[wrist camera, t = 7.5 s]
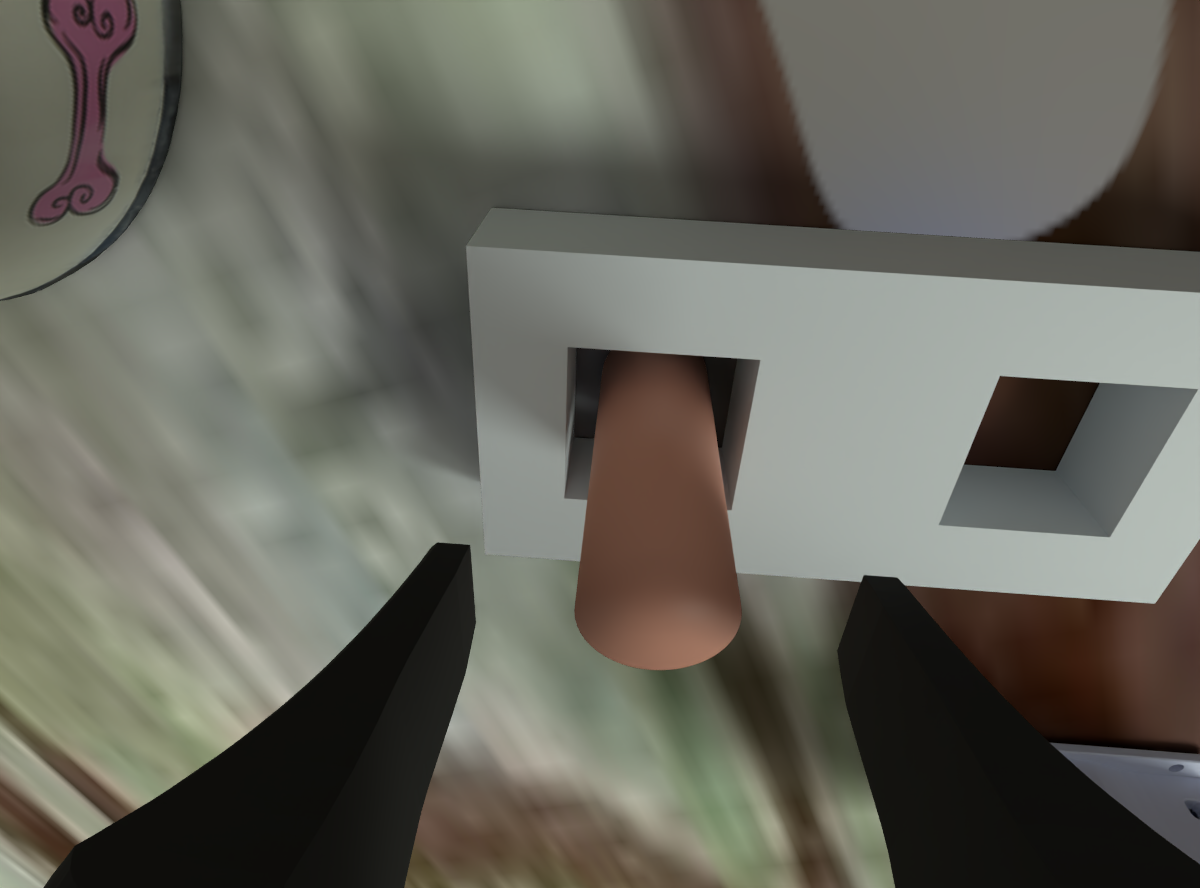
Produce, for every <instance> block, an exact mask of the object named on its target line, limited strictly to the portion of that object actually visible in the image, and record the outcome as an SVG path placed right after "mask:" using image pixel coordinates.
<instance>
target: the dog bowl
mask: <svg viewBox="0 0 1200 888" xmlns="http://www.w3.org/2000/svg"><path fill="white" fill-rule="evenodd" d="M181 76H182V19H181V5H180V0H0V301H1V300H8V299H13V298H17V297H21V296H24V295H28V294H32V293H35V292H37V291H40V290H42V289H44V288H46V287H48V286H50V285H52V284H54V283H56V282H58V281H60V280H61V279H63V278H65V277H67V276H69V275H71V274H73V273H75V272H76V271H78V270H79V269H81V268H82V267H84V266H85V265H87V264H88V263H90V262H91V261H93V260H94V259H95V258H97V257H98V256H99V255H100V254H101V253H102V252H103V251H104V250H106V249H107V248H108V247H109V246H110V245H111V244H113V243H114V242H115V241H116V240H117V239H118V237H119V236H120V235H121V234H122V233H123V232H124V231H125V230H126V229H127V228H128V226H129V225H130V223H131V222H132V220H133V219H134V218H135V217H136V216H137V214H138V212H139V211H140V209H141V208H142V207H143V205H144V204H145V202H146V200H147V199H148V197H149V195H150V193H151V191H152V189H153V187H154V185H155V183H156V181H157V179H158V176H159V174H160V171H161V169H162V167H163V164H164V161H165V158H166V156H167V153H168V149H169V146H170V142H171V138H172V133H173V129H174V124H175V120H176V116H177V109H178V102H179V96H180V88H181Z"/></svg>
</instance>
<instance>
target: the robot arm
mask: <svg viewBox="0 0 1200 888" xmlns="http://www.w3.org/2000/svg"><path fill="white" fill-rule="evenodd" d="M475 624H476V617H475V604H474V591H473V578H472V564H471V551H470V545H463V544H450V543H436V544H435V545H434V546H432V547H431V549H430V550H429V551H428V553H427V554H426V555H425V556H424V558H423V559H422V560H421V562H420V563H419V564H418V565H417V567H416V568H415V569H414V570H413V572H412V573H411V574H410V575H409V577H408V578H407V579H406V580H405V582H404V583H403V584H402V585H401V586H400V588H399V589H398V590H397V591H396V592H395V594H394V595H393V596H392V597H391V598H390V599H389V600H388V602H387V603H386V604H385V605H384V606H383V607H382V608H381V609H380V611H379V612H378V613H377V614H376V615H375V616H374V617H373V618H372V620H371V621H370V622H369V623H368V624H367V625H366V626H365V627H364V628H363V629H362V631H361V632H360V633H359V634H358V635H357V636H356V637H355V638H354V639H353V640H352V641H351V642H350V643H349V644H348V645H347V646H346V647H345V648H344V649H343V650H342V651H341V652H340V653H339V654H338V655H337V656H336V657H335V658H334V659H333V660H332V661H331V662H330V663H329V664H328V665H327V666H326V667H325V668H324V669H323V670H322V671H321V672H320V673H318V674H317V675H316V676H315V677H314V678H313V679H312V680H311V681H310V682H309V683H308V684H307V685H305V686H304V687H303V688H302V689H301V690H300V691H299V692H297V693H296V694H295V695H294V696H293V697H292V698H291V699H289V700H288V701H287V702H286V703H285V704H284V705H282V706H281V707H280V708H279V709H278V710H276V711H275V712H274V713H273V714H271V715H270V716H269V717H268V718H266V719H265V720H264V721H263V722H261V723H260V724H259V725H258V726H256V727H255V728H254V729H253V730H251V731H250V732H249V733H248V734H246V735H245V736H244V737H242V738H241V739H240V740H238V741H237V742H236V743H235V744H233V745H232V746H230V747H229V748H228V749H226V750H225V751H224V752H222V753H221V754H219V755H218V756H217V757H215V758H214V759H212V760H211V761H209V762H208V763H206V764H205V765H204V766H202V767H201V768H199V769H198V770H196V771H195V772H193V773H192V774H190V775H189V776H188V777H186V778H185V779H183V780H182V781H180V782H179V783H177V784H176V785H175V786H173V787H172V788H170V789H169V790H167V791H166V792H164V793H163V794H161V795H159V796H158V797H156V798H155V799H153V800H152V801H150V802H148V803H147V804H145V805H143V806H142V807H140V808H138V809H137V810H135V811H133V812H132V813H130V814H128V815H127V816H125V817H123V818H122V819H120V820H118V821H117V822H115V823H113V824H112V825H110V826H108V827H107V828H105V829H103V830H102V831H100V832H98V833H97V834H95V835H93V836H92V837H90V838H88V839H86V840H84V841H83V842H81V843H79V844H77V845H75V846H74V848H73V849H72V850H71V852H70V853H69V854H68V856H67V857H66V858H65V860H64V861H63V862H62V863H61V865H60V866H59V867H58V868H57V870H56V871H55V872H54V873H53V875H52V876H51V878H50V879H49V880H48V882H47V883H46V885H45V886H44V888H404V885H405V881H406V876H407V872H408V867H409V863H410V858H411V854H412V850H413V845H414V841H415V836H416V832H417V828H418V823H419V819H420V815H421V811H422V807H423V804H424V800H425V797H426V793H427V790H428V787H429V783H430V780H431V777H432V774H433V771H434V768H435V765H436V762H437V759H438V756H439V753H440V750H441V747H442V744H443V741H444V738H445V735H446V732H447V729H448V726H449V723H450V720H451V717H452V714H453V711H454V708H455V704H456V701H457V698H458V695H459V692H460V689H461V686H462V683H463V680H464V676H465V673H466V668H467V664H468V659H469V654H470V649H471V644H472V639H473V634H474V629H475ZM837 652H838V659H839V665H840V672H841V679H842V685H843V691H844V696H845V702H846V706H847V710H848V714H849V717H850V721H851V724H852V728H853V731H854V735H855V738H856V741H857V745H858V748H859V752H860V755H861V758H862V762H863V765H864V768H865V772H866V775H867V778H868V782H869V785H870V789H871V792H872V795H873V799H874V802H875V805H876V809H877V812H878V815H879V819H880V822H881V826H882V829H883V833H884V837H885V841H886V845H887V849H888V853H889V858H890V863H891V868H892V873H893V878H894V884H895V888H1200V754H1191V753H1178V752H1165V751H1153V750H1140V749H1127V748H1114V747H1101V746H1088V745H1076V744H1063V743H1050V742H1048V741H1047V740H1046V739H1045V738H1044V737H1043V736H1042V735H1041V734H1040V733H1039V732H1038V731H1037V730H1036V729H1035V728H1034V727H1033V726H1032V725H1031V724H1030V723H1029V722H1028V721H1027V720H1026V719H1025V718H1024V717H1023V716H1022V715H1021V714H1020V713H1019V712H1018V711H1017V710H1016V709H1015V708H1014V707H1013V706H1012V705H1011V704H1010V703H1009V702H1008V701H1007V700H1006V699H1005V698H1004V697H1003V696H1002V695H1001V694H1000V693H999V692H998V691H997V690H996V689H995V688H994V687H993V686H992V685H991V684H990V683H989V682H988V681H987V679H986V678H985V677H984V676H983V675H982V674H981V673H980V672H979V671H978V670H977V669H976V668H975V666H974V665H973V664H972V663H971V662H970V661H969V660H968V659H967V658H966V656H965V655H964V654H963V653H962V652H961V651H960V650H959V649H958V647H957V646H956V645H955V644H954V643H953V642H952V641H951V639H950V638H949V637H948V636H947V635H946V634H945V632H944V631H943V630H942V629H941V628H940V627H939V625H938V624H937V623H936V622H935V621H934V620H933V618H932V617H931V616H930V615H929V614H928V613H927V611H926V610H925V609H924V608H923V607H922V605H921V604H920V603H919V602H918V601H917V600H916V598H915V597H914V596H913V595H912V594H911V592H910V591H909V590H908V589H907V588H906V587H905V585H904V584H903V583H902V582H901V581H900V580H899V579H898V578H897V577H884V576H871V575H863V578H862V581H861V584H860V587H859V590H858V593H857V596H856V598H855V601H854V604H853V607H852V610H851V613H850V616H849V619H848V621H847V624H846V627H845V630H844V633H843V636H842V639H841V642H840V644H839V647H838V650H837Z"/></svg>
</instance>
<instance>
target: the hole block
mask: <svg viewBox="0 0 1200 888" xmlns="http://www.w3.org/2000/svg"><path fill="white" fill-rule="evenodd" d="M466 255H467V271H468V287H469V304H470V320H471V336H472V352H473V369H474V385H475V401H476V417H477V434H478V450H479V466H480V482H481V499H482V515H483V531H484V547H485V554H487V555H501V556H514V557H528V558H542V559H555V560H569V561H580V558H581V550H582V541H583V532H584V524H585V515H586V507H587V498H588V490H589V481H590V473H591V464H592V455H593V447H594V439H589V438H575V437H574V419H575V385H576V352H577V348H589V349H604V350H619V351H634V352H649V353H664V354H679V355H694V356H709V357H724V358H737V363H736V369H735V374H734V380H733V386H732V392H731V398H730V403H729V409H728V415H727V421H726V427H725V433H724V438H723V444H722V448H718V451H719V457H720V464H721V471H722V478H723V485H724V492H725V499H726V506H727V512H728V519H729V526H730V533H731V540H732V547H733V554H734V560H735V567H736V573H746V574H759V575H773V576H787V577H800V578H814V579H828V580H841V581H855V582H861V581H862V578H863V575H871V576H884V577H897V578H898V579H899V580H900V581H901V582H902V583H903V584H904V585H909V586H923V587H936V588H950V589H964V590H977V591H991V592H1005V593H1018V594H1032V595H1045V596H1059V597H1073V598H1086V599H1100V600H1114V601H1127V602H1141V603H1154V604H1155V603H1156V601H1157V600H1158V599H1159V597H1160V596H1161V594H1162V593H1163V591H1164V590H1165V588H1166V587H1167V586H1168V584H1169V583H1170V581H1171V580H1172V578H1173V577H1174V575H1175V574H1176V572H1177V571H1178V570H1179V568H1180V567H1181V565H1182V564H1183V562H1184V561H1185V559H1186V558H1187V557H1188V555H1189V554H1190V552H1191V551H1192V549H1193V548H1194V546H1195V545H1196V543H1197V542H1198V541H1199V539H1200V252H1193V251H1177V250H1161V249H1145V248H1129V247H1113V246H1097V245H1081V244H1065V243H1049V242H1033V241H1017V240H1001V239H985V238H984V239H983V238H969V237H953V236H935V235H921V234H920V235H919V234H904V233H889V232H872V231H857V230H841V229H825V228H809V227H793V226H777V225H761V224H745V223H729V222H713V221H697V220H681V219H665V218H649V217H633V216H617V215H601V214H585V213H569V212H553V211H537V210H521V209H505V208H491V209H490V211H489V212H488V214H487V215H486V217H485V218H484V220H483V221H482V223H481V224H480V226H479V227H478V229H477V230H476V232H475V233H474V235H473V236H472V238H471V239H470V241H469V242H468V244H467V245H466ZM1000 376H1009V377H1024V378H1039V379H1054V380H1069V381H1084V382H1099V383H1100V384H1099V386H1098V388H1097V390H1096V392H1095V394H1094V396H1093V398H1092V400H1091V402H1090V404H1089V406H1088V408H1087V410H1086V412H1085V413H1084V415H1083V417H1082V419H1081V421H1080V423H1079V425H1078V427H1077V429H1076V431H1075V433H1074V435H1073V437H1072V439H1071V441H1070V443H1069V445H1068V447H1067V449H1066V451H1065V453H1064V455H1063V457H1062V459H1061V461H1060V463H1059V465H1058V467H1057V469H1056V471H1049V470H1035V469H1020V468H1006V467H991V466H977V465H964V462H965V460H966V457H967V455H968V452H969V450H970V448H971V445H972V443H973V440H974V438H975V435H976V433H977V430H978V428H979V426H980V423H981V421H982V418H983V416H984V413H985V411H986V409H987V406H988V404H989V401H990V399H991V396H992V394H993V391H994V389H995V387H996V384H997V382H998V379H999V377H1000Z"/></svg>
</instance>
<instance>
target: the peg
mask: <svg viewBox="0 0 1200 888" xmlns="http://www.w3.org/2000/svg"><path fill="white" fill-rule="evenodd" d="M741 616H742V610H741V602H740V595H739V588H738V581H737V574H736V567H735V560H734V554H733V547H732V540H731V533H730V526H729V519H728V512H727V506H726V499H725V492H724V485H723V478H722V471H721V464H720V457H719V451H718V444H717V437H716V430H715V423H714V416H713V409H712V403H711V396H710V389H709V382H708V375H707V368H706V364H705V361H704V359H703V356H694V355H679V354H664V353H649V352H634V351H619V350H611V351H610V352H609V354H608V356H607V357H606V360H605V362H604V366H603V370H602V379H601V387H600V396H599V404H598V413H597V421H596V430H595V438H594V447H593V455H592V464H591V473H590V481H589V490H588V498H587V507H586V515H585V524H584V532H583V541H582V550H581V558H580V567H579V575H578V584H577V592H576V601H575V620H576V623H577V626H578V628H579V631H580V633H581V634H582V636H583V637H584V639H585V640H586V641H587V642H588V643H589V644H590V645H591V646H592V647H593V648H594V649H595V650H596V651H598V652H599V653H601V654H602V655H604V656H605V657H607V658H609V659H611V660H613V661H616V662H618V663H621V664H624V665H627V666H630V667H635V668H640V669H648V670H672V669H679V668H684V667H688V666H692V665H695V664H698V663H701V662H703V661H705V660H707V659H709V658H711V657H713V656H714V655H716V654H718V653H719V652H720V651H722V650H723V649H724V648H725V647H726V646H727V645H728V644H729V643H730V642H731V641H732V639H733V638H734V636H735V635H736V633H737V631H738V629H739V626H740V622H741Z"/></svg>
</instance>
